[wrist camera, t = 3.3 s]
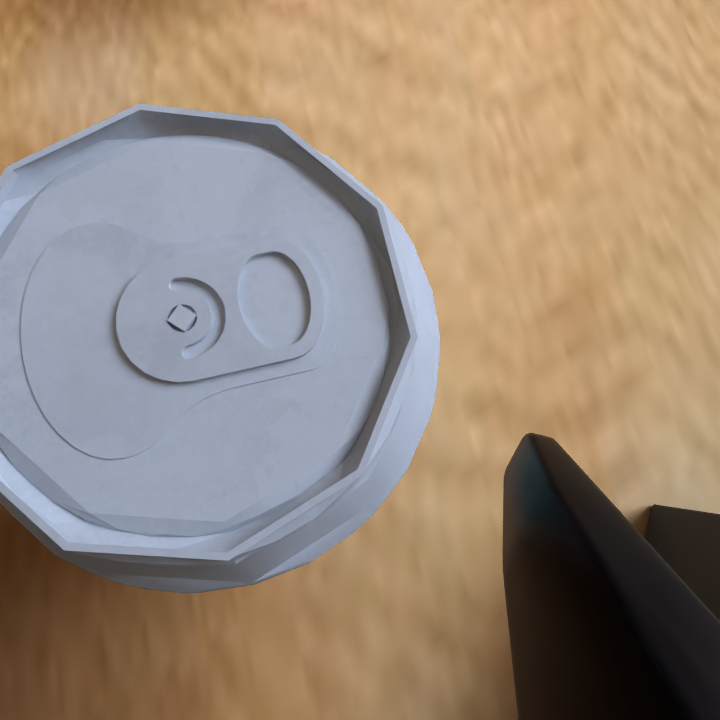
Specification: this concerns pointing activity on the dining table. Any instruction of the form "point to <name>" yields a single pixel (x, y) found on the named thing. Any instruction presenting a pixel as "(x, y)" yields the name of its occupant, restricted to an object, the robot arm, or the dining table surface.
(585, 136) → the dining table surface
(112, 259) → the beer can
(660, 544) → the container
